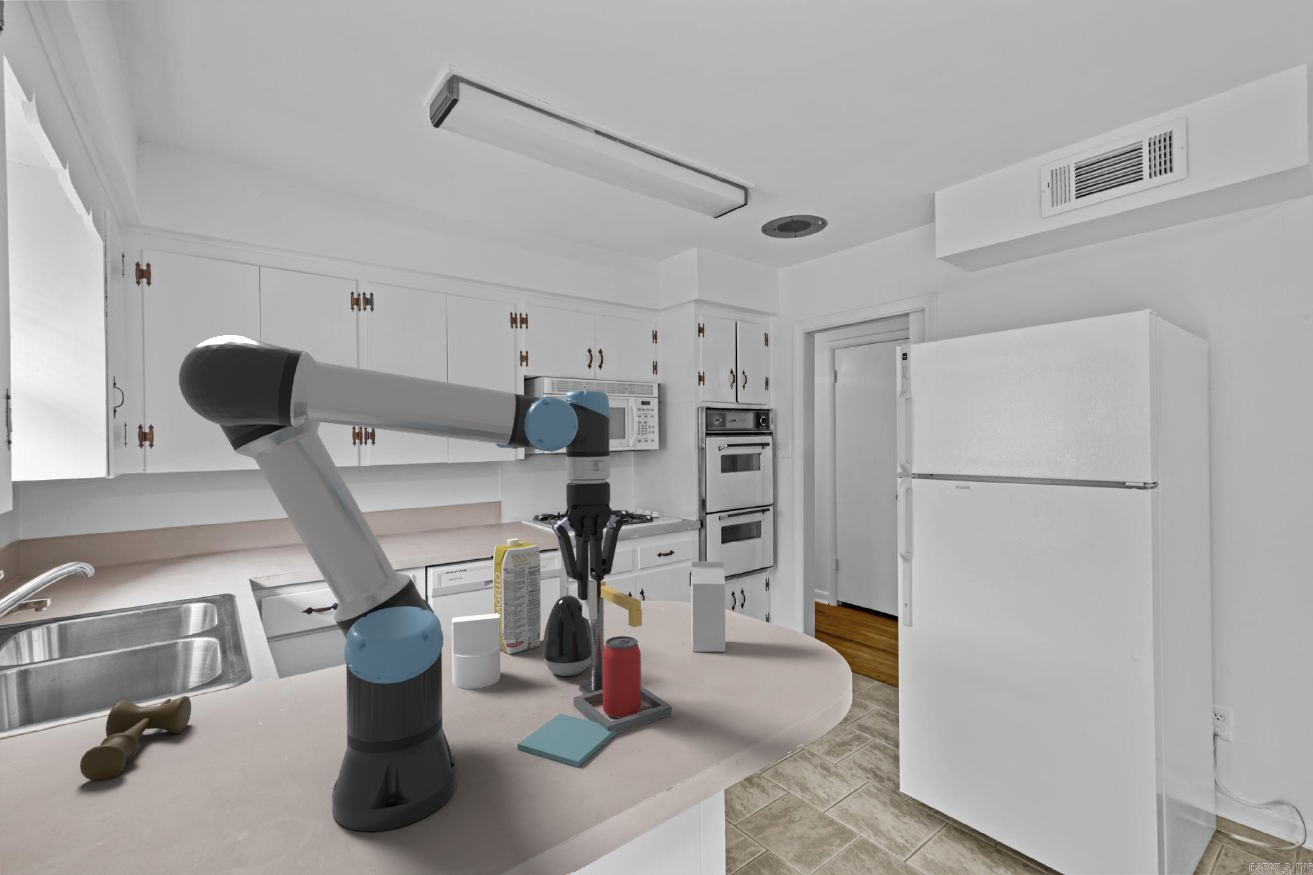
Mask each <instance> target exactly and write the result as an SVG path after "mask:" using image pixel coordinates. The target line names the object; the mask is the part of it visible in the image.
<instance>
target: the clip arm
mask: <svg viewBox="0 0 1313 875" xmlns="http://www.w3.org/2000/svg"><path fill="white" fill-rule="evenodd" d="M606 584H607V582H606V581H605V580H602V581H601V596H600V597H602V598H604V599H605V600H606V601H608V602H610V603H613V604H615V605H617V606H618V607H621V608H622V609H625V610H627V611H628V625H629V626H630V627H632V628H637V627H641V626H643V611H642V607H641V606H642V601H641V600H639V599H637V598H635V597H633V596H630V595H628V594H626V593H623V592H621V591H619V590H617V589H614V588H613V587H610V586H608V585H606Z"/></svg>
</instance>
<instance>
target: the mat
mask: <svg viewBox="0 0 1313 875" xmlns="http://www.w3.org/2000/svg"><path fill="white" fill-rule="evenodd" d="M615 735H617V733H616V728H615V729H612V730H609V731H607V730H606V729H605V728H604V727H603V726H601V725H600V724H599V723H597V722H593V721H590V720H589V719H586V718H585V719H584V718H581V717H577V716H573V715H569V714H564V713H558V714H557V715H555V717H552V718H551V719H550V720H549V721H547V722H546V723H544V724H543V725H542V726H540V727H538V729H536V730H535V731H533V732H531V734H529V735H528V736H526V737H525V738H523V739H522V740H521V741H519V742H517V747H516V748H517V750H519V751H522V752H526V753H528V754H529V753H530V754H533V755H536V756H539V757H542V758H546V759H549V760H553V761H556V762H558V763H559V762H560V763H562V764H563V763H564V764H566V765H570V766H572V767H576V768H579V767H580V766H582V764H583V763H585V762H586V760H588V759H589V758H590V757H591V756H593V754H595V753H596V752H597V751H598V750H599V749H601V747H602V746H604V744H606V743H607V742H608V741H609V740H610V739H611V738H612V737H614V736H615Z"/></svg>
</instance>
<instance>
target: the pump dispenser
mask: <svg viewBox="0 0 1313 875" xmlns="http://www.w3.org/2000/svg"><path fill="white" fill-rule="evenodd" d="M542 658H543V659H544V663H545V665H546V667H547V669H548V670H550V672H552V673H553V674H555V675H557V676H561V677H572V676H576V675H579V674H581V673H582V672H584V671H585V670H586V669H587V668H588V666H589V664H591V622H590V620H588V619H586V618H585V617H583V616H582V601H581V600H580V599H579V598H578V597H576V596H573V595H571V594H570V595H569V594H568V595H563V596H562V597H560V598H559V599H557V600H556V601H555V603H554V605H553V606H552V608H551V611H550V614H549V616H548V619H547V622H546V625H545V629H544V634H543V640H542Z"/></svg>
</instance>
